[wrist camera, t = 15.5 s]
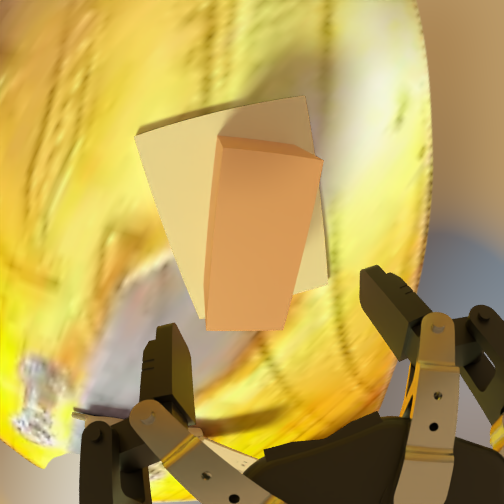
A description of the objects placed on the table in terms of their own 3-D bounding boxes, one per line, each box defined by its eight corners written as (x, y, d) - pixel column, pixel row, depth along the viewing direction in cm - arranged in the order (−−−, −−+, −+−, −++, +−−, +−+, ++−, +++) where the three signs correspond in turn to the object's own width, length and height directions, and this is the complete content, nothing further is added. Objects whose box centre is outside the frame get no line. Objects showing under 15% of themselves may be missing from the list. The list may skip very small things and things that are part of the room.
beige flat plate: (199, 315, 24) (199, 319, 24) (135, 135, 17) (134, 136, 17) (326, 281, 25) (328, 284, 25) (303, 95, 17) (305, 95, 17)
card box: (216, 135, 17) (223, 147, 13) (294, 144, 19) (323, 160, 14) (203, 285, 23) (206, 330, 18) (267, 286, 24) (283, 329, 19)
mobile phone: (254, 475, 33) (74, 461, 26) (247, 443, 39) (79, 426, 32) (267, 461, 31) (64, 443, 24) (258, 424, 36) (72, 405, 29)
